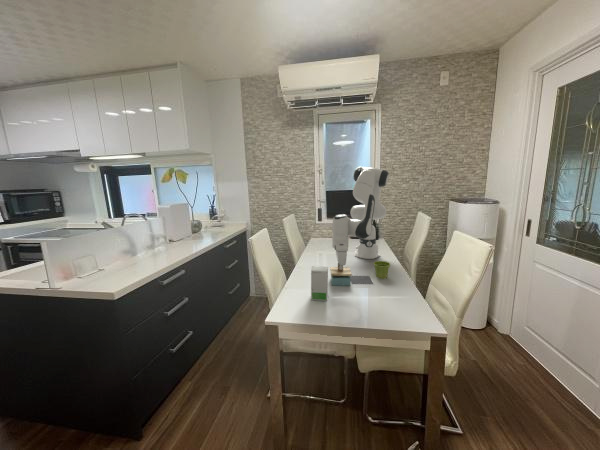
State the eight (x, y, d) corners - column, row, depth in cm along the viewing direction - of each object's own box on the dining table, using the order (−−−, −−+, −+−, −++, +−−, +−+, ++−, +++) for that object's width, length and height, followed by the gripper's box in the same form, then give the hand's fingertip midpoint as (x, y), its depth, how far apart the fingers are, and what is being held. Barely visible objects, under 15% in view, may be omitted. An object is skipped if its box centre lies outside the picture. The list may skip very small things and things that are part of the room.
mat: (348, 276, 151) (348, 275, 151) (369, 276, 151) (369, 275, 150) (351, 285, 140) (351, 284, 140) (373, 285, 139) (373, 284, 139)
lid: (330, 268, 148) (330, 260, 147) (349, 268, 147) (349, 259, 146) (331, 276, 137) (331, 266, 136) (351, 275, 136) (351, 266, 135)
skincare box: (310, 300, 123) (310, 270, 121) (312, 294, 130) (311, 265, 127) (327, 301, 122) (327, 271, 119) (328, 295, 129) (327, 266, 126)
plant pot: (391, 281, 143) (391, 266, 142) (373, 280, 145) (374, 266, 144) (388, 274, 152) (389, 261, 151) (372, 274, 154) (372, 260, 153)
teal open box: (331, 279, 148) (330, 271, 147) (348, 279, 148) (348, 271, 147) (332, 286, 138) (332, 278, 137) (350, 286, 138) (350, 278, 137)
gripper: (333, 239, 149) (333, 261, 152) (336, 249, 129) (336, 274, 132) (344, 239, 149) (344, 261, 151) (348, 248, 129) (348, 274, 131)
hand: (340, 267), depth 141 cm, fingers closed on lid, 3 cm apart
